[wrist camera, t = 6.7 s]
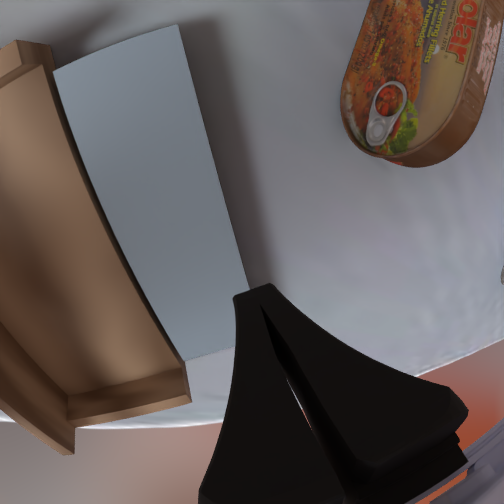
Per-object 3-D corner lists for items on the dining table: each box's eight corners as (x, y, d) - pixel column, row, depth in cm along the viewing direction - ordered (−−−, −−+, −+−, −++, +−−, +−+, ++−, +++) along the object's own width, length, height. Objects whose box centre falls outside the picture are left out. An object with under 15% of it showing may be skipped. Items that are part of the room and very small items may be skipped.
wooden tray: (67, 387, 23) (63, 455, 18) (-87, 143, 10) (-153, 186, 4) (183, 356, 25) (198, 431, 19) (49, 45, 11) (-13, 36, 5)
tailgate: (183, 361, 22) (263, 337, 23) (52, 71, 11) (177, 24, 11) (181, 345, 23) (257, 321, 24) (63, 71, 12) (176, 28, 12)
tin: (387, -56, 11) (485, -77, 5) (421, -31, 13) (518, -38, 6) (321, 132, 18) (416, 181, 11) (361, 148, 19) (455, 200, 12)
